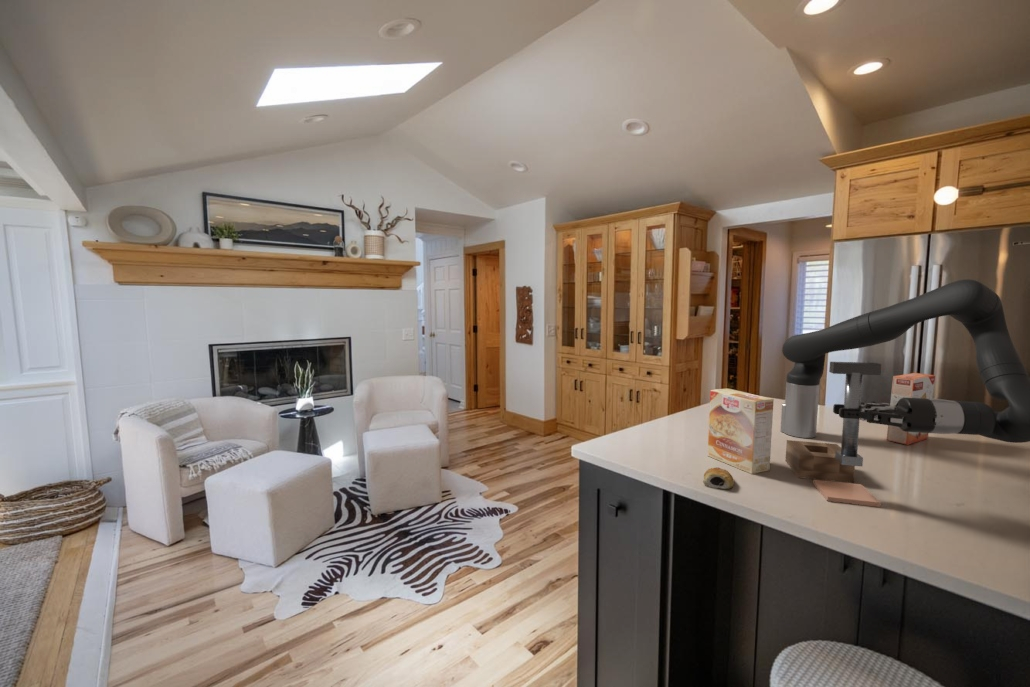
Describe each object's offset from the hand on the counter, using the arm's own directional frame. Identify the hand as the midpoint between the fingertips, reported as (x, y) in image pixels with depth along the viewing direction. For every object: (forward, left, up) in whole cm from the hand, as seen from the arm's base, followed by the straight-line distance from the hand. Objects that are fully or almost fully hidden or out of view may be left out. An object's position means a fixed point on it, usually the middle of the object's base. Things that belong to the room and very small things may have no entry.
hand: (837, 410), depth 105 cm
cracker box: (-10, +63, -20) cm, 67 cm away
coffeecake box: (-23, -2, -20) cm, 31 cm away
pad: (+2, +2, -20) cm, 20 cm away
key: (+2, +2, -12) cm, 12 cm away
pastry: (-17, -18, -20) cm, 32 cm away
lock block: (-9, +11, -20) cm, 24 cm away
